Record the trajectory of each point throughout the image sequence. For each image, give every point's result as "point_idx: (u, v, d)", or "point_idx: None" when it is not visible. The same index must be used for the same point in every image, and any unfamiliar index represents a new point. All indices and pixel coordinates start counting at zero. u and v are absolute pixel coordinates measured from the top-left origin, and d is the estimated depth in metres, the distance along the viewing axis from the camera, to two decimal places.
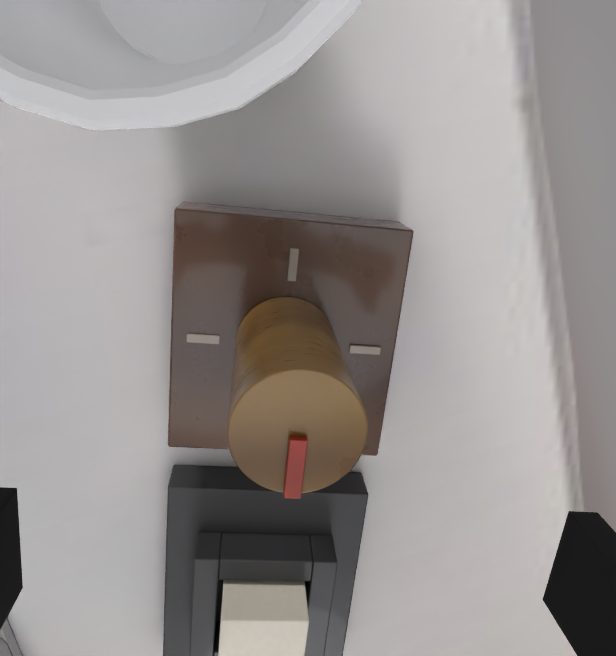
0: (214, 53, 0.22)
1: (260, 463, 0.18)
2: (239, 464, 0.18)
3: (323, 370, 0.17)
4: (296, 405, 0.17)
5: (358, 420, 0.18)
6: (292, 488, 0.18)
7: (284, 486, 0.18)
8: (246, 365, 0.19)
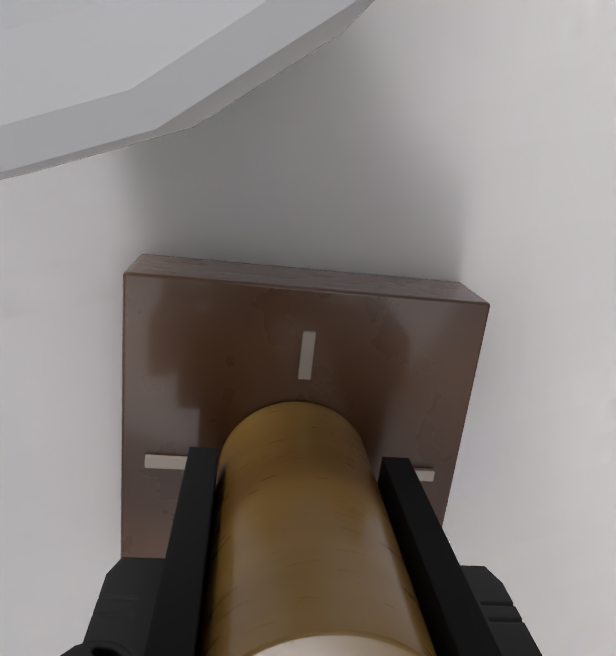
0: None
1: None
2: None
3: (373, 627, 0.09)
4: None
5: None
6: None
7: None
8: (228, 576, 0.11)
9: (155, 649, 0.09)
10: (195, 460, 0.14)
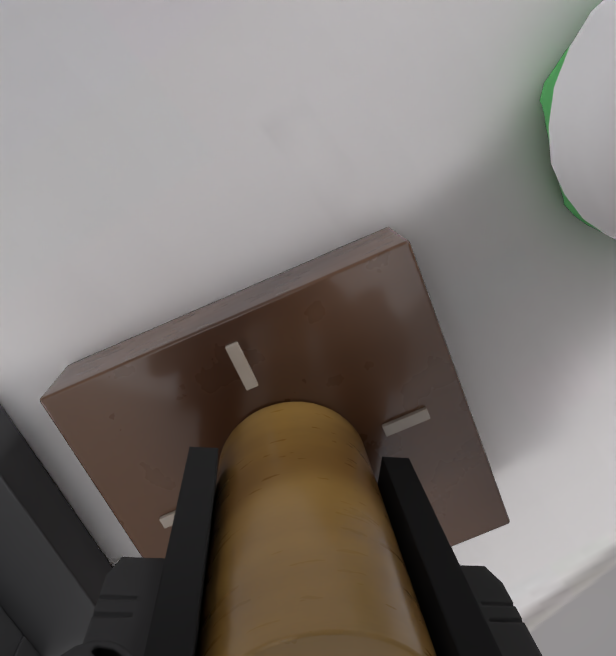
0: None
1: None
2: None
3: (375, 627, 0.09)
4: None
5: None
6: None
7: None
8: (229, 575, 0.11)
9: (155, 649, 0.09)
10: (195, 460, 0.14)
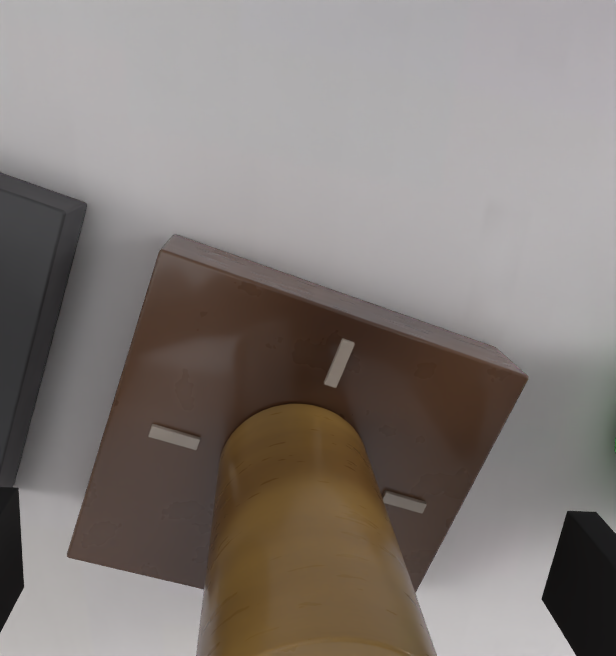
0: None
1: None
2: None
3: (376, 634, 0.09)
4: None
5: None
6: None
7: None
8: (228, 581, 0.10)
9: None
10: None
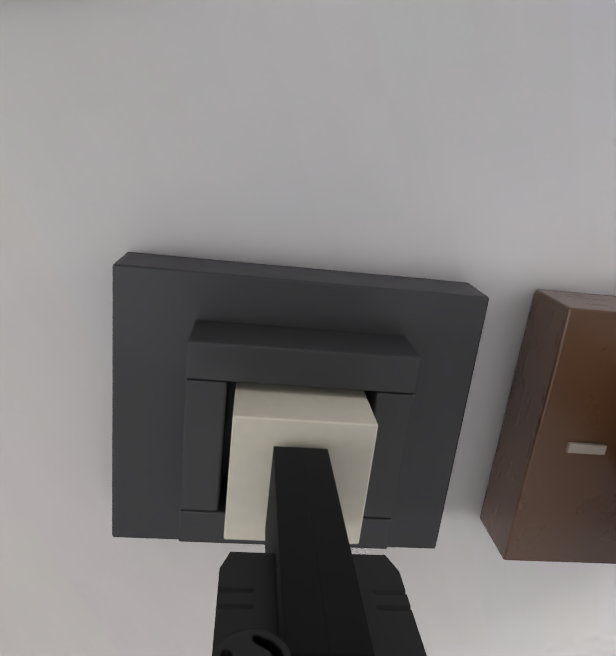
0: None
1: None
2: None
3: None
4: None
5: None
6: None
7: None
8: None
9: (293, 637, 0.09)
10: (282, 459, 0.15)
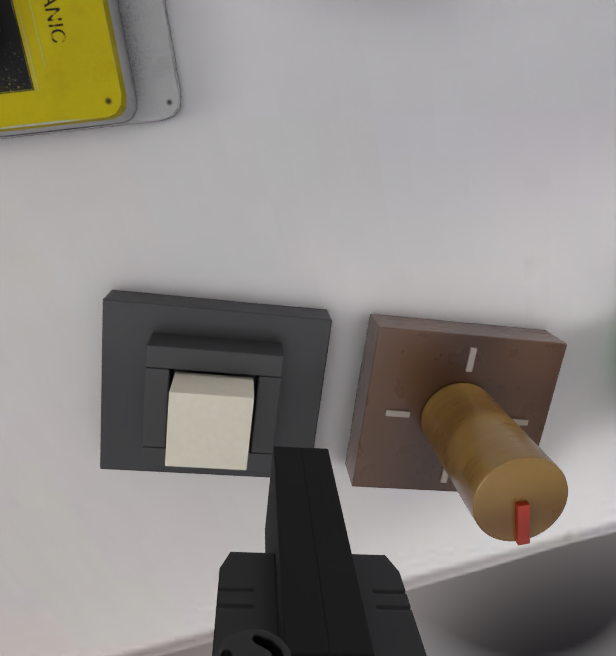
0: None
1: (497, 524, 0.25)
2: (483, 529, 0.25)
3: (531, 455, 0.25)
4: (517, 482, 0.25)
5: (560, 482, 0.25)
6: (523, 537, 0.25)
7: (517, 537, 0.25)
8: (465, 456, 0.27)
9: (293, 638, 0.09)
10: (282, 459, 0.15)
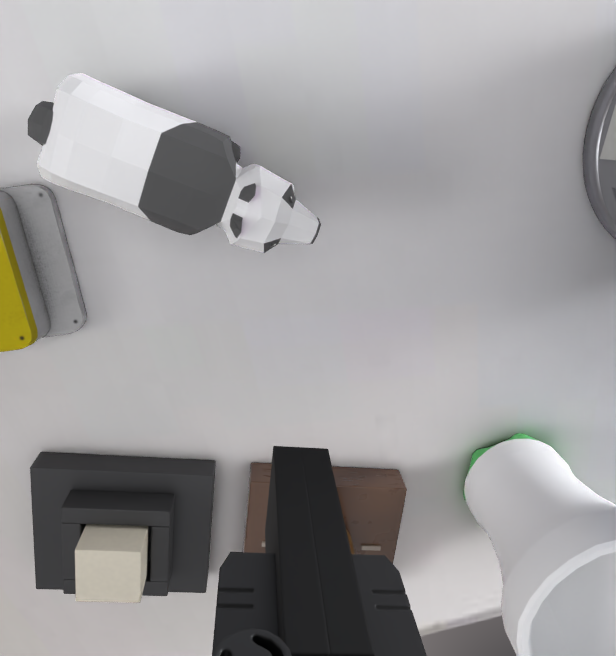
0: None
1: None
2: None
3: None
4: None
5: None
6: None
7: None
8: None
9: (293, 637, 0.09)
10: (282, 459, 0.15)
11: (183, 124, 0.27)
